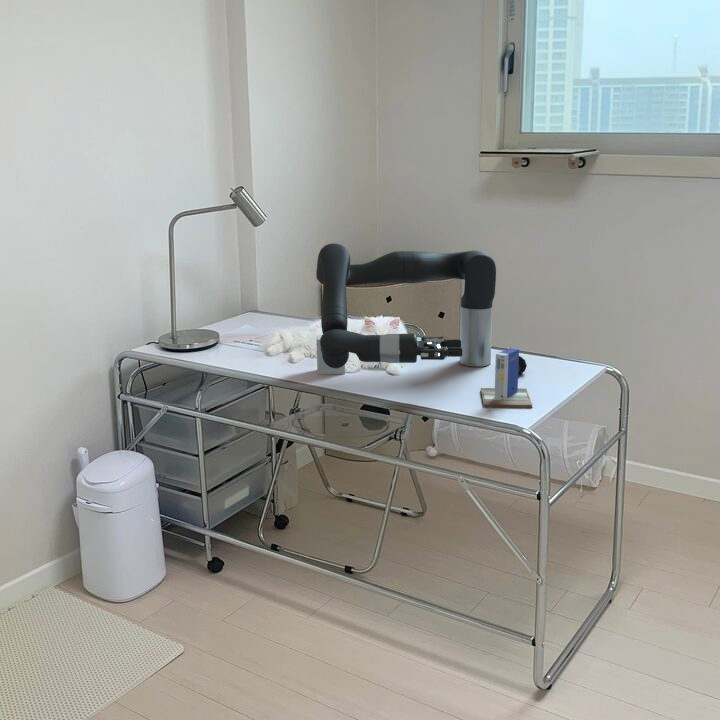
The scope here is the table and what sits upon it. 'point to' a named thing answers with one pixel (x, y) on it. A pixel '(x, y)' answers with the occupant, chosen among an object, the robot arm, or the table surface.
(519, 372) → the microphone
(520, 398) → the card
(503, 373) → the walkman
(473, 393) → the table surface
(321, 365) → the small box
